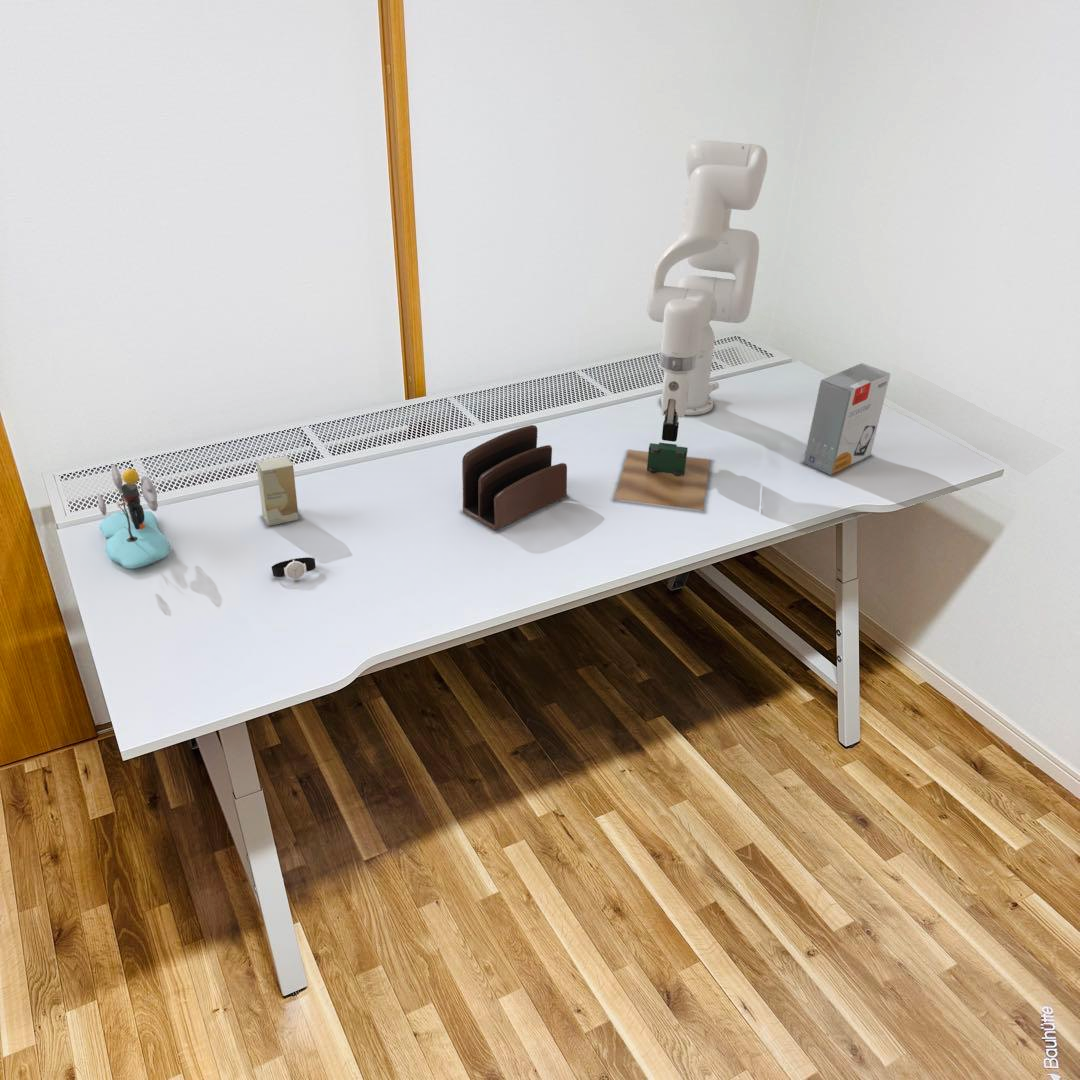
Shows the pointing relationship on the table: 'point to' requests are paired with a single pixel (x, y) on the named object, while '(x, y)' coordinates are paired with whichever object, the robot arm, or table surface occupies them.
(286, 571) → the watch
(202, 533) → the table surface
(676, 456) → the green box with feet
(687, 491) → the wooden board
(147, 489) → the winged figurine
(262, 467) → the cosmetic box
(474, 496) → the letter holder
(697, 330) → the robot arm
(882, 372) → the hard drive box
